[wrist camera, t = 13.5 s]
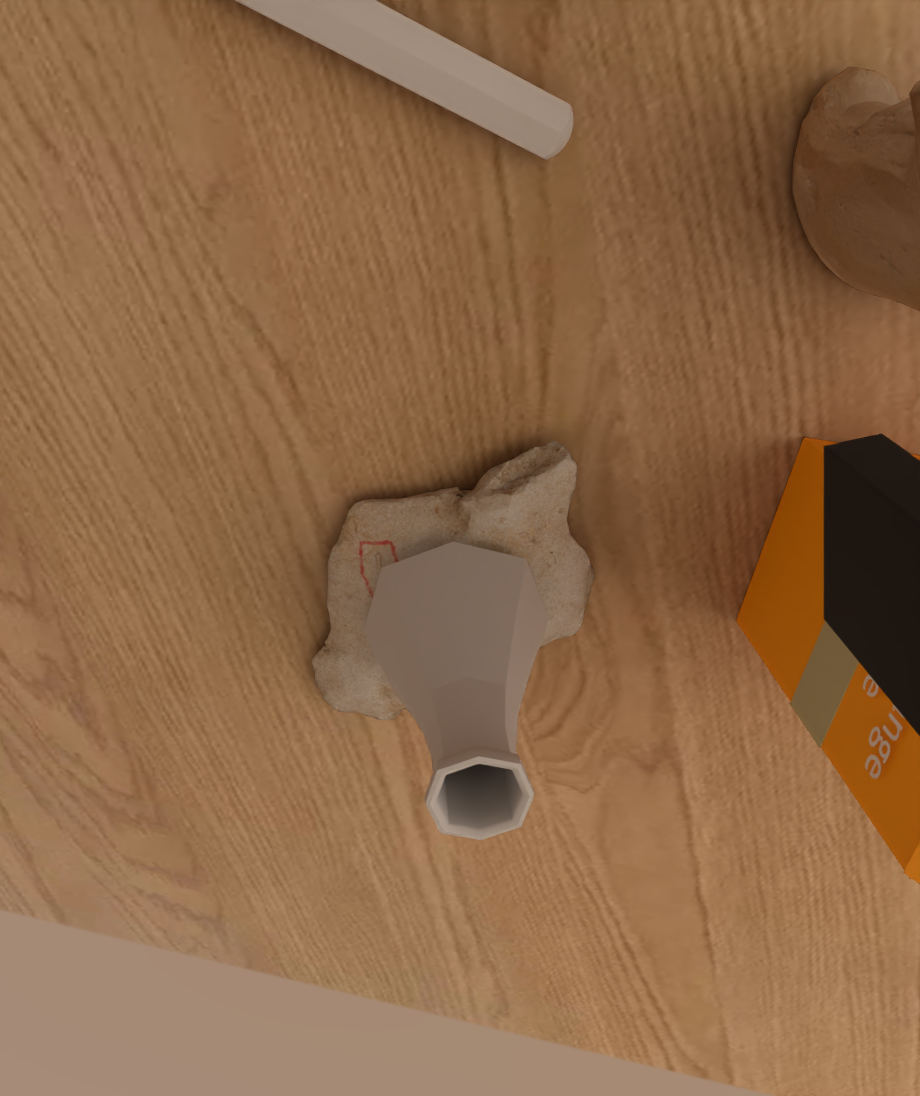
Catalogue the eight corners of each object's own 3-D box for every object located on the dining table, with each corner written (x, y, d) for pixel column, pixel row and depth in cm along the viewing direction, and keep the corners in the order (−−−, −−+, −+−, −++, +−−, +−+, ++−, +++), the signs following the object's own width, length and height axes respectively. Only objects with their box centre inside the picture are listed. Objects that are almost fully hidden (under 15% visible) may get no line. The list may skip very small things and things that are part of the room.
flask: (546, 690, 36) (598, 880, 27) (370, 702, 36) (365, 899, 27) (548, 532, 33) (608, 689, 24) (355, 544, 33) (343, 708, 24)
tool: (28, -105, 26) (1, -121, 24) (41, -173, 25) (15, -195, 23) (551, 163, 30) (561, 167, 28) (575, 111, 29) (587, 111, 27)
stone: (560, 427, 34) (574, 453, 32) (622, 644, 39) (639, 682, 36) (245, 531, 35) (234, 565, 33) (344, 730, 40) (340, 773, 37)
